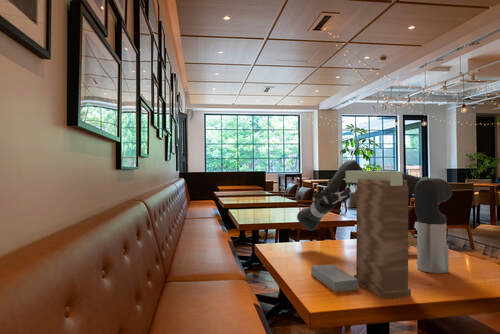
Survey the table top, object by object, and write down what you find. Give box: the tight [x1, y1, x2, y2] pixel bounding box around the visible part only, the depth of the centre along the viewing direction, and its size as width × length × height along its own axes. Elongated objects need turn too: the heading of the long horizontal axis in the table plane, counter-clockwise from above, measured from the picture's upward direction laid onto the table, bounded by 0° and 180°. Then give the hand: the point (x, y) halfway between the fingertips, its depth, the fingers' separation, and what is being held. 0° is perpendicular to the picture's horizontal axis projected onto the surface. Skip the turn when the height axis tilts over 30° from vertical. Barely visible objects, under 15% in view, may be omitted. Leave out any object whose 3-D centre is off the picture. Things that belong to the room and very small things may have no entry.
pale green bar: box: [345, 170, 404, 186], centre depth 105 cm, size 24×4×4 cm, turn 15°
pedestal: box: [353, 179, 412, 300], centre depth 100 cm, size 15×9×34 cm, turn 15°
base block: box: [310, 263, 359, 293], centre depth 106 cm, size 16×8×3 cm, turn 15°
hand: (339, 189), depth 124 cm, fingers open, 8 cm apart
